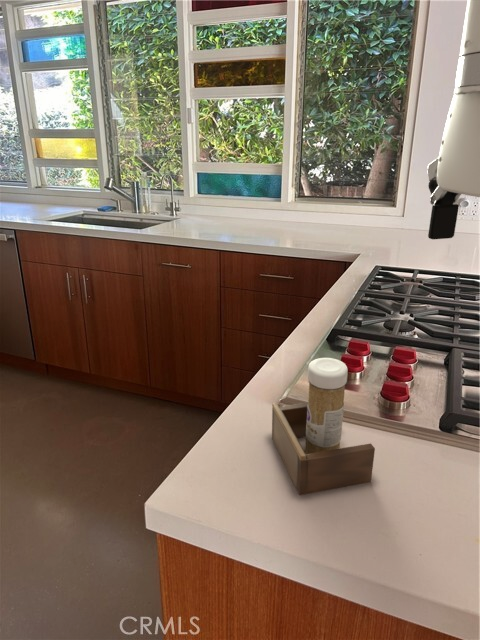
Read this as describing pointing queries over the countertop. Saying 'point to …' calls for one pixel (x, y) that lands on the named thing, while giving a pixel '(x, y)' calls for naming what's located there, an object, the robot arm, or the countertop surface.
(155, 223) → the countertop surface
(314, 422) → the sprinkles bottle
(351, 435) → the countertop surface
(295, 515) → the countertop surface
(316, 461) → the u-shaped bracket
